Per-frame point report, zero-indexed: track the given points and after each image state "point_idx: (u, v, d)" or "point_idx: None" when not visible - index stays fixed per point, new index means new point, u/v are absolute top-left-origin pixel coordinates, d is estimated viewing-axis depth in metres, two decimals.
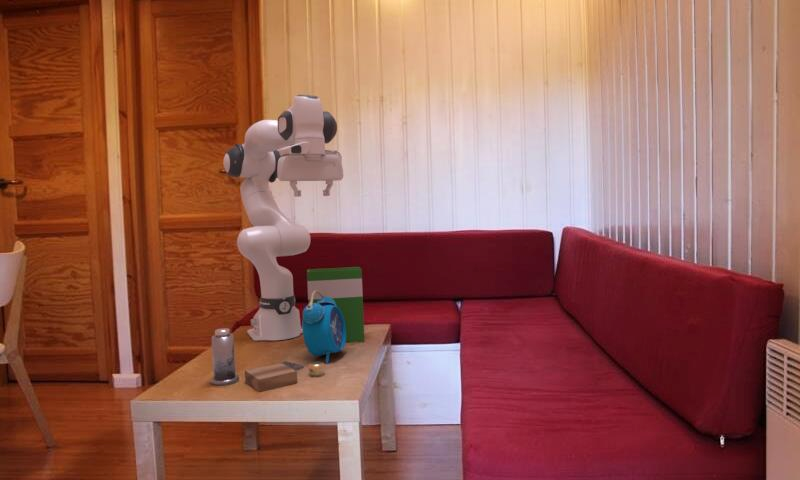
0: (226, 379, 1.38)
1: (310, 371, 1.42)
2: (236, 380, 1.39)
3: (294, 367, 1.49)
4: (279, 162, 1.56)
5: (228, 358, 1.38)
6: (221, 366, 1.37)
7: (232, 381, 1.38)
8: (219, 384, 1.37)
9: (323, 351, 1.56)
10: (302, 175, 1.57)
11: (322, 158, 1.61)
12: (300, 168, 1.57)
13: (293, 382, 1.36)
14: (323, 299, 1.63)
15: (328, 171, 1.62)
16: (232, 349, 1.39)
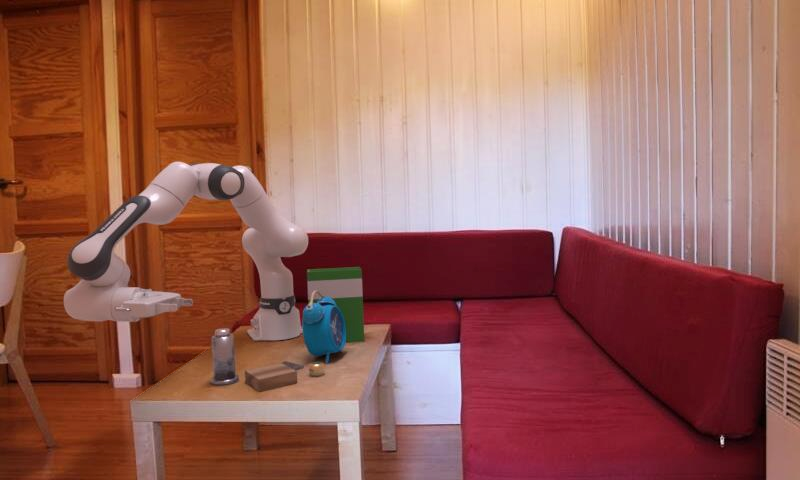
0: (226, 379, 1.38)
1: (310, 371, 1.42)
2: (236, 380, 1.39)
3: (294, 367, 1.49)
4: None
5: (228, 358, 1.38)
6: (221, 366, 1.37)
7: (232, 381, 1.38)
8: (219, 384, 1.37)
9: (323, 351, 1.56)
10: None
11: None
12: None
13: (293, 382, 1.36)
14: (323, 299, 1.63)
15: None
16: (232, 349, 1.39)
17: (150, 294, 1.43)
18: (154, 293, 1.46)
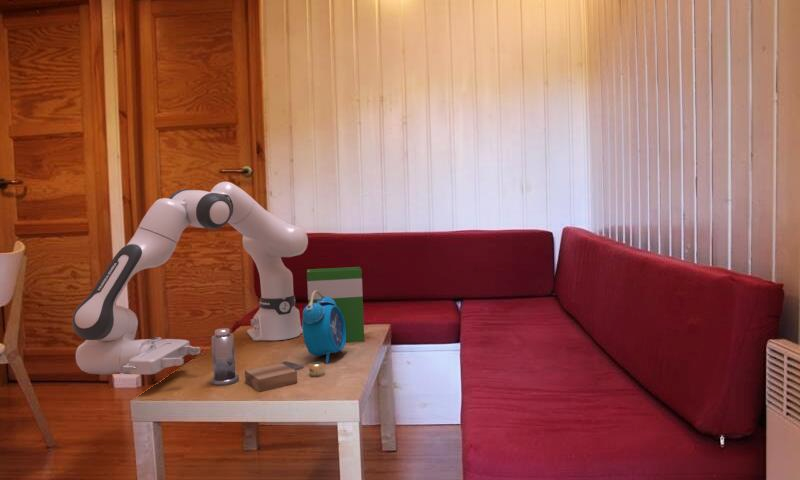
0: (226, 379, 1.38)
1: (310, 371, 1.42)
2: (236, 380, 1.39)
3: (294, 367, 1.49)
4: None
5: (228, 358, 1.38)
6: (221, 366, 1.37)
7: (232, 381, 1.38)
8: (219, 384, 1.37)
9: (323, 351, 1.56)
10: None
11: None
12: None
13: (293, 382, 1.36)
14: (323, 299, 1.63)
15: None
16: (232, 349, 1.39)
17: (158, 344, 1.45)
18: (163, 342, 1.48)
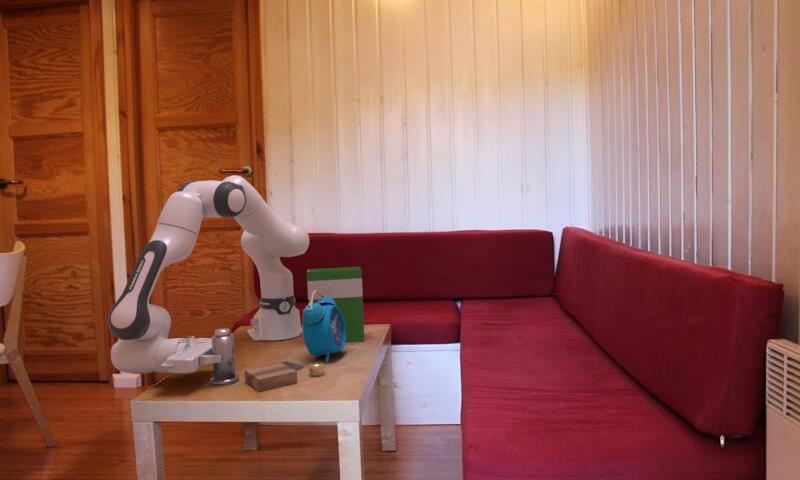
0: (226, 379, 1.38)
1: (310, 371, 1.42)
2: (236, 380, 1.39)
3: (294, 367, 1.48)
4: None
5: (228, 358, 1.38)
6: (221, 366, 1.37)
7: (232, 381, 1.38)
8: (219, 384, 1.37)
9: (323, 351, 1.56)
10: None
11: None
12: None
13: (293, 382, 1.36)
14: (323, 299, 1.63)
15: None
16: (232, 349, 1.39)
17: (193, 343, 1.44)
18: (197, 341, 1.47)
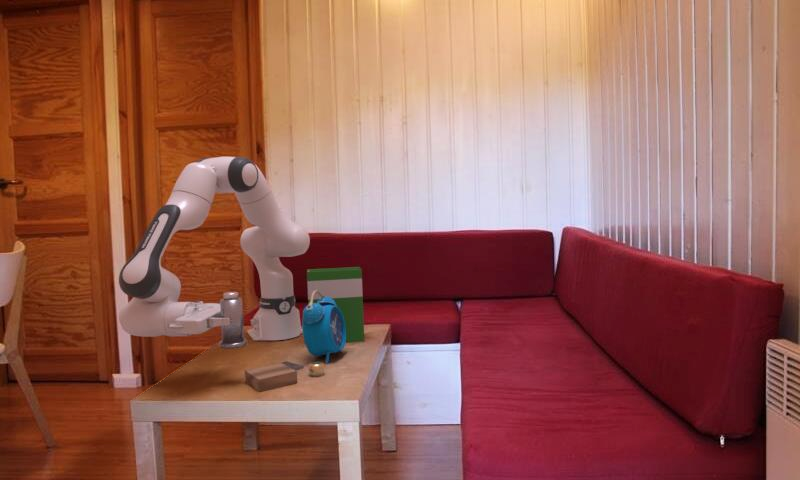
0: (234, 342, 1.37)
1: (310, 371, 1.42)
2: (244, 344, 1.38)
3: (294, 367, 1.48)
4: None
5: (236, 321, 1.37)
6: (229, 329, 1.36)
7: (240, 344, 1.37)
8: (228, 347, 1.36)
9: (323, 351, 1.56)
10: None
11: None
12: None
13: (293, 382, 1.36)
14: (323, 299, 1.63)
15: None
16: (241, 312, 1.38)
17: (201, 307, 1.43)
18: (205, 305, 1.46)
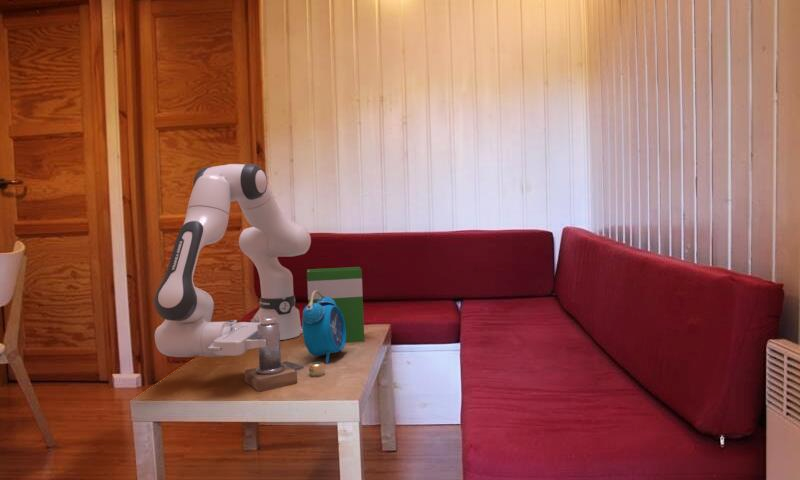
0: (272, 368, 1.36)
1: (310, 371, 1.42)
2: (282, 369, 1.37)
3: (294, 367, 1.48)
4: None
5: (274, 347, 1.36)
6: (267, 355, 1.35)
7: (278, 370, 1.36)
8: (266, 373, 1.35)
9: (323, 351, 1.56)
10: None
11: None
12: None
13: (293, 382, 1.36)
14: (323, 299, 1.63)
15: None
16: (278, 338, 1.37)
17: (236, 327, 1.42)
18: (240, 325, 1.44)
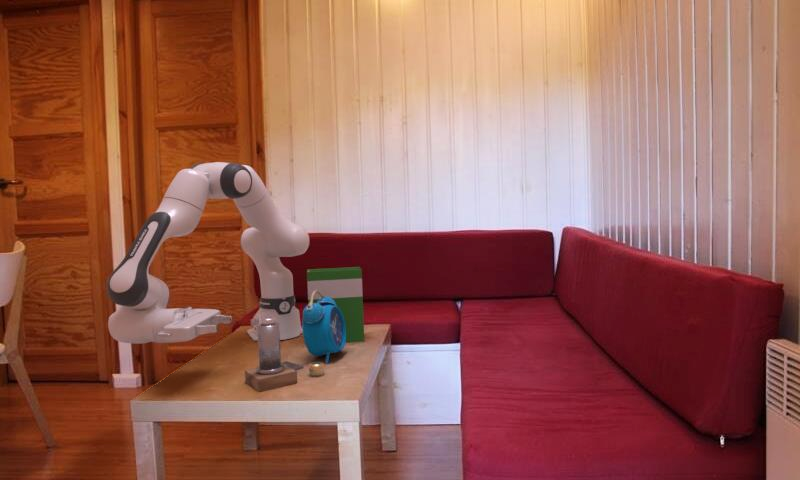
0: (272, 368, 1.36)
1: (310, 371, 1.42)
2: (282, 369, 1.37)
3: (294, 367, 1.48)
4: None
5: (274, 347, 1.36)
6: (267, 355, 1.35)
7: (278, 370, 1.36)
8: (266, 373, 1.35)
9: (323, 351, 1.56)
10: None
11: None
12: None
13: (293, 382, 1.36)
14: (323, 299, 1.63)
15: None
16: (278, 338, 1.37)
17: (190, 313, 1.44)
18: (194, 311, 1.47)
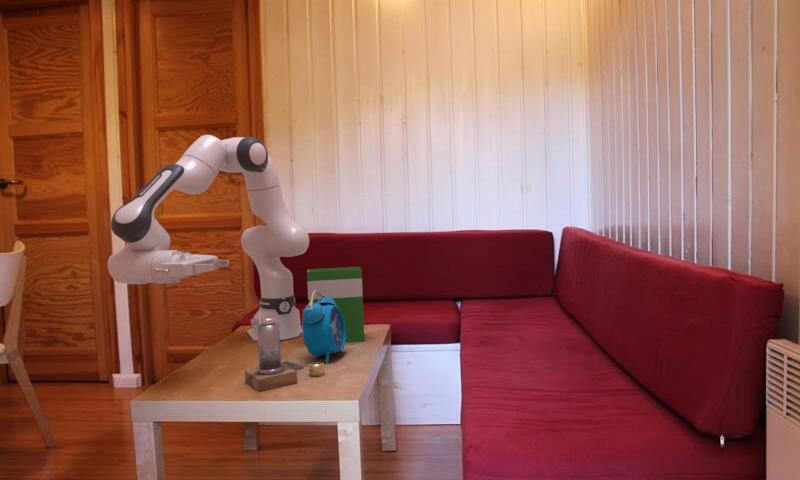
0: (272, 368, 1.36)
1: (310, 371, 1.42)
2: (282, 369, 1.37)
3: (294, 367, 1.48)
4: None
5: (274, 347, 1.36)
6: (267, 355, 1.35)
7: (278, 370, 1.36)
8: (266, 373, 1.35)
9: (323, 351, 1.56)
10: None
11: None
12: None
13: (293, 382, 1.36)
14: (323, 299, 1.63)
15: None
16: (278, 338, 1.37)
17: (188, 257, 1.47)
18: (192, 256, 1.49)
